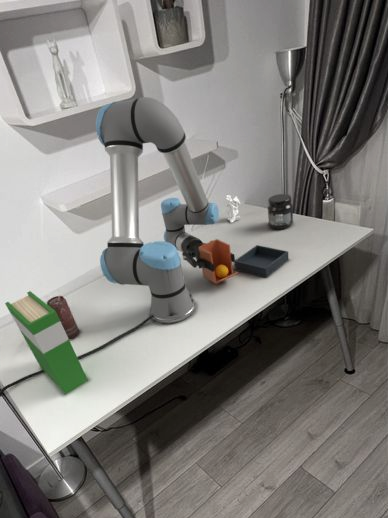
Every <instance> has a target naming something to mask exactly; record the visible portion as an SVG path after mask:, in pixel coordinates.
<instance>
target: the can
mask: <svg viewBox="0 0 388 518" xmlns="http://www.w3.org/2000/svg"><path fill="white" fill-rule="evenodd" d="M46 304H47V305H48V306H50V307H51V308H52V309H53V310H55V311H56V313H57V315H58V317H59V319H60V322H61V324H62V326H63V328H64V330H65V332H66V334H67V337H68V339H69V341H72V340H75V339H76V338H78V336H79V335H80V328H79V326H78V324H77V322H76V320H75V317H74V315H73V312H72V310H71V309H70V306H69V304H68V301H67V299H66V298H65V297H64V296H63V295H56V296H54V297H53V296H52V297H51V298H49V299H48V300H47V302H46Z"/></svg>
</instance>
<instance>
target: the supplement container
mask: <svg viewBox="0 0 388 518" xmlns="http://www.w3.org/2000/svg"><path fill="white" fill-rule="evenodd" d="M267 203H268V206H267V217H268V218H267V220H268V226H269V228H270V229H272V230H275V231H276V230H278V231H279V230H280V231H281V230H286V229H288V228H290V227H291V226H292V225H293V224H294V211H293V210H294V209H293V208H294V204H293V202H292V195H290V194H288V193H278V194H274V195H271V196H270V197H269V198H268V199H267Z"/></svg>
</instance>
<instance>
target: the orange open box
mask: <svg viewBox="0 0 388 518" xmlns="http://www.w3.org/2000/svg"><path fill="white" fill-rule="evenodd" d="M210 241H211V242H210ZM210 241H208V242H205V243H206V244H204V245H202V246H199V247H198V249H199V254H200V258H201V261H202V259H205V260H207V261H209V262H211V263H213V264H214V270H216V268H217V266H219V265H225V266H226V267H227V268H228V274H227V276H226V277H224V278H220V277H218V276H217V275H216V273H215V271H214V272H212V271H210V270H209V269H207V268H203V267H202V268H201V270H202V276H203V278H204V280H205V279H206V280H207V281H208V282H210V283H212V284H214V285H217V284H219V283H221V282H224V281H226V280H229V279H230V278H232V277H234V276H235V275H237V274H239V272H238V271H236V272H234V268H233V262H232V259H231V253H232V252H231V245H230V244H229V243H227V242H225V241H222V240H220V239H218V238H215V239H213V240H210Z"/></svg>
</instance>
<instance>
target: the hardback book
mask: <svg viewBox="0 0 388 518" xmlns="http://www.w3.org/2000/svg"><path fill="white" fill-rule="evenodd" d="M26 294H27V295H26V296H24V297H22V298H20V299H18V300H16V301H14V302H12V303H11V302H9V301H7V302H5V306H6V308H7V310H8V311H9V314H10V315H11V317H12V318H13V320H14V322H15V324H16V326H17V328H18V329H19V331H20V334H21V335H22V337H23V339H24V340H25V342H26V344H27V346H28V348H29V349H30V351H31V353H32V356H34V359H35V360H36V362H37V364H38V366H39V367H40V369H41V370H44V374H46V375H47V377H48V378H49V379H50V380H51V381H52V382H53V383H54V385H55V386H57V388H58V389H59V390H60V391H61V392H62V393H63V394H64V395H68V394H70V392H72V391H74V390H75V389H77V388H78V387H80V386H82V385H83V384H85V383H86V382H88V381H89V380H88V377H87V375H86V373H85V371H84V369H83V367H82V364H81V362H80V359H78V358H77V357H78V356H77V354H76V351H75V350H74V347H73V345H72V343H71V340H69V339H68V337H67V334H66V332H65V330H64V328H63V326H62V324H61V322H60V319H59V317H58V315H57V313H56V311H55V310H53V309H52V308H51V307H50V306H48V305H47V302H45V301H43V300H42V299H41V298H39V296H37V295H36V294H34V293H33V292H32V291H31V290H29V291H28V292H26Z"/></svg>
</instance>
